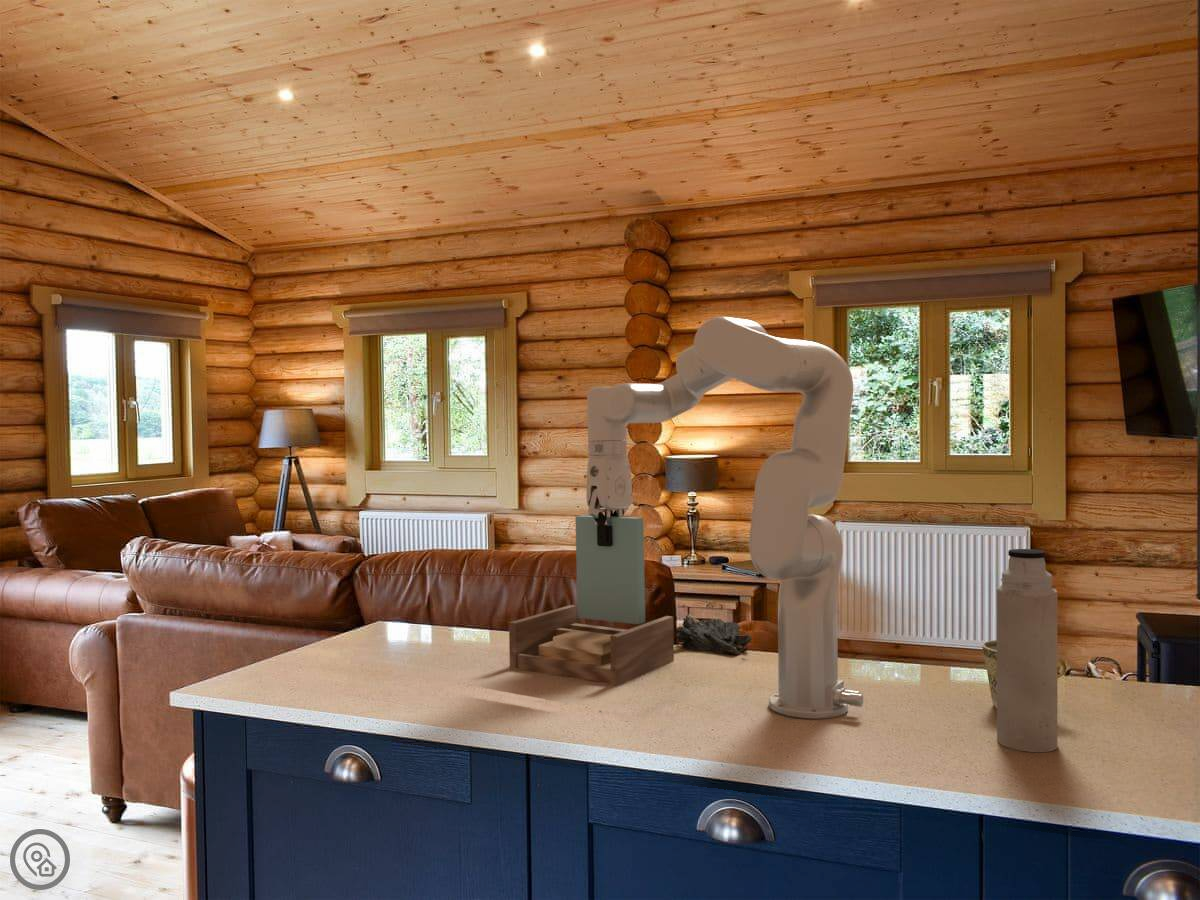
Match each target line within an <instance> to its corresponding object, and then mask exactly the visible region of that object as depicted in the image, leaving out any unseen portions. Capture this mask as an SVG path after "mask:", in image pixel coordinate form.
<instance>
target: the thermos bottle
mask: <svg viewBox="0 0 1200 900" xmlns="http://www.w3.org/2000/svg"><path fill="white" fill-rule="evenodd" d="M1007 553H1008V556H1009V558H1008V562H1007V563H1008V565H1007V566H1008V568H1007V569H1005V570H1003V571H1002V573H1001V578H1000V581H1001V585H999V586H997V587H996V640H997V708H996V740H997V742H998V744H1000V745H1002V746H1004V747H1005V748H1008V749H1013V750H1016V751H1021V752H1022V751H1023V752H1028V753H1047V752H1052V751H1054V750H1057V749H1058V736H1059V735H1058V732H1059V731H1058V725H1059V724H1058V679H1057V675H1058V662H1057V658H1058V590H1057V589H1056V588H1054V587H1053V581H1054V579H1053V575H1052V573H1050V571H1047V569H1046V561H1045V558H1046V555H1047V554H1046V551H1045V550H1039V549H1031V548H1013V549H1009V550H1007Z"/></svg>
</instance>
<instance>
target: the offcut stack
mask: <svg viewBox="0 0 1200 900" xmlns="http://www.w3.org/2000/svg"><path fill="white" fill-rule="evenodd" d="M610 636H611V635H609V634H602V633H594V632H586V631H579V630H573V631H570V632H567V633H564V634H561V635H557V636H554V637H553V641H550V642H547V643H544V644H541V645H539V657H546V658H552V659H559V660H565V661H572V662H579V663H585V664H592V665H598V666H605V667H611V647H610Z"/></svg>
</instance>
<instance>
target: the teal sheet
mask: <svg viewBox="0 0 1200 900" xmlns="http://www.w3.org/2000/svg"><path fill="white" fill-rule="evenodd" d="M610 525H611V526H612V539H613V545H612V546H610V547H608V546H598V545H597V525H595V519H594V518H593V517H592V516H591V515H585V514H583V515H577V516H575V549H576V550H575V553H576V554H575V558H576V561H575V562H576V599H577V600H576V601H577V602H576V604H577V605H576V611H577V619H585V620H586V619H587V620H595V621H604V622H605V621H606V622H614V623H623V624H624V623H625V624H632V625H642V624H645V623H646V595H645V594H646V589H645V541H644V540H645V538H644V533H645V532H644V517H643V516H642V517H641V516H639V517H638V516H635V517H634V516H623V517H614V516H610Z"/></svg>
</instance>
